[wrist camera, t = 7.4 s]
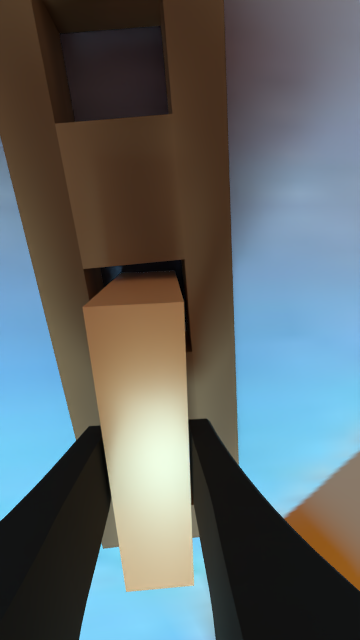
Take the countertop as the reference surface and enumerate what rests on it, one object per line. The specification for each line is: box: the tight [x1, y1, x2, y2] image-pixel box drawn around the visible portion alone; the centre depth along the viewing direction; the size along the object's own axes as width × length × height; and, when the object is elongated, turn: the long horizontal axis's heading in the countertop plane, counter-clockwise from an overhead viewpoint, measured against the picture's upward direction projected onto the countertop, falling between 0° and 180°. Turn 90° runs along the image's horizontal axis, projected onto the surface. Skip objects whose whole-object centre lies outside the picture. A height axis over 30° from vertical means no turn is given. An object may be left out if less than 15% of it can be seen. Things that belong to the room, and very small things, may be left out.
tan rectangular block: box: [82, 270, 194, 592], centre depth 11 cm, size 2×10×6 cm, turn 2°
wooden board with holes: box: [0, 0, 239, 549], centre depth 11 cm, size 7×24×2 cm, turn 5°
